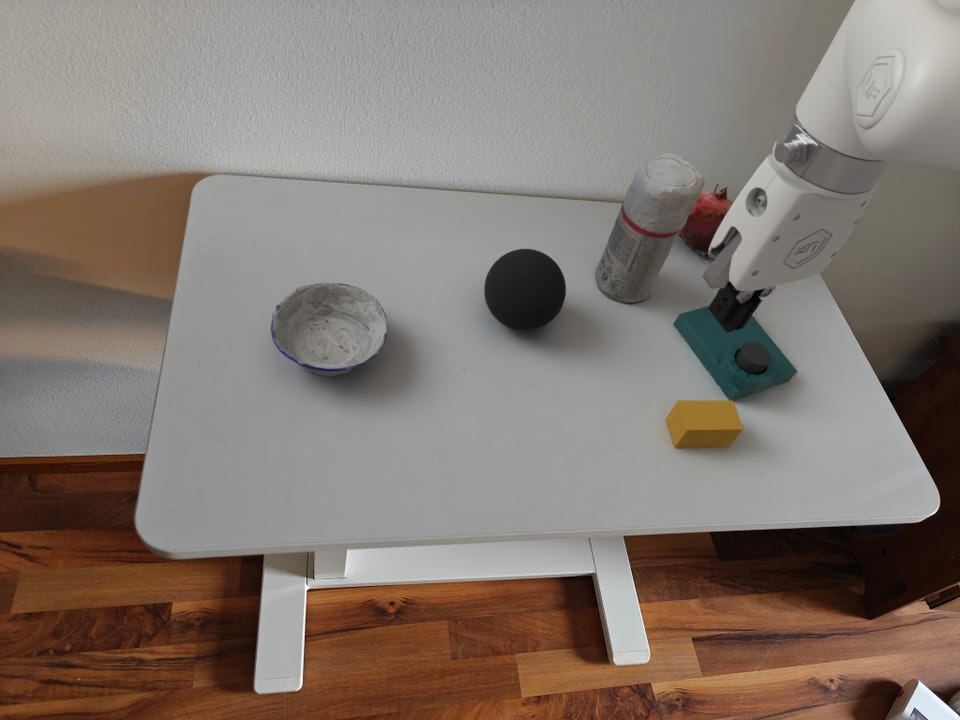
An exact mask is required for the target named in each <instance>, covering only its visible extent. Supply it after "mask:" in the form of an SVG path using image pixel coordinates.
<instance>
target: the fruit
mask: <svg viewBox="0 0 960 720" xmlns="http://www.w3.org/2000/svg"><path fill="white" fill-rule="evenodd" d="M718 186H719V183H717V184H716V185H715V187H714V189H713V191H701V193H700V195H699V197H698V200H697V202H696V204H695V206H694V207H693V208H692V209H691V211H690V213H689V215H688V218H687V222H686V224H685V225H684V227H683V228H682V229H681V230H680V233H679V235H678V237H679V238H680V239H681V240H682V241H684V242H685V243H686V244H687V245H688V246H689V247H691V248H692V249H694V250H696V251H697V252H698V253H699V254H700V255H701V256H702V257H703V258H704V259H706V258H707V256H708V251H709V247H710V244H711V242H712V240H713V237H714V235H715V233H716V231H717V230H718V228H719V226H720V224H721V223H722V221H723V219H724V217H725V216H726V214H727V212H728V211H729V209H730V208H731V206H732V204H733V203H734V201H732V200H731V199H730V198H728V188H729V187H728V186H726V187H724V188H721V189H720V190H718V191H717V189H718Z"/></svg>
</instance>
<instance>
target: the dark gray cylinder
mask: <svg viewBox="0 0 960 720" xmlns="http://www.w3.org/2000/svg"><path fill="white" fill-rule="evenodd" d="M770 360H771V355H770V352H769V351H768V349H767V348H766V347H764V346H763V345H761V344H759V343H757V342H748V343H746V344H744V345H743V347H742V348H741V350H740V351H739V352H738V354H737V355H736V363H737V365H738V366H739V368H740V369H742V370H743V371H745V372H747V373H748V374H753V375H757V374H760V373H761V372H762V371H763V370H764V369H765V367H766V366H767V365H768V363H769V362H770Z"/></svg>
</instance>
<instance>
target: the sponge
mask: <svg viewBox="0 0 960 720" xmlns="http://www.w3.org/2000/svg"><path fill="white" fill-rule="evenodd" d="M665 422H666V425H667V428H668V432H669V436H670V439H671V442H672V445H673V448H674V449H676V448H677V449H679V448H680V449H682V448H685V449H686V448H688V449H689V448H690V449H691V448H729V447H730V446H731V445H732V444H733V443H734V442H735V440H737V439H738V437H739V436H740V434H742V432H743V431H744V430H745V429H744V426H743V423H742V420H741V417H740V415H739V412H738V410H737V407H736V405H735V402H734V400H729V399H728V400H727V399H726V400H723V399H721V400H701V399H700V400H699V399H698V400H688V399H687V400H686V399H685V400H683V399H681V400H677V401H676V402H675V404H674V405H673V406H672V408H671V410H670V412H669V413H668V414H667V416H666V418H665Z"/></svg>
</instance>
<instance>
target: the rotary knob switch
mask: <svg viewBox="0 0 960 720" xmlns="http://www.w3.org/2000/svg"><path fill="white" fill-rule="evenodd" d="M709 306H710V305H707V306H702V307H700V308H696V309H693V310H689V311H685V312H682V313H679V314H678V316H677V318H676V319H675V321H674V323H673V326H674V327H675V329H676V330H677V331H678V333H679V334H680V336H681V337H682V338H683V339H684V341H685V342H686V344H687V345H688V346H689V348H690V349H691V350H692V352H693V353H694V354H695V356H696V357H697V358H698V360H699V361H700V363H701V364H702V365H703V366H704V368H705V370H706V371H707V372H708V374H710V376H711V377H712V379H713V380H714V382H715V383H716V385H717V386H718V387H719V388H720V390H721V391H722V393H723V394H724V395H725V396H726V398H727V399H728V400H733V401H735V400H738V399H741V398H744V397H747V396H750V395H753V394H755V393H759V392H761V391H764V390H768V389H771V388H773V387H775V386H779V385H782V384H784V383H785V384H786V383H788V382H790V381H791V380H792V379H793V378H794V376H795V375H796V374H797V373H798V370H797V368H796V367H795V366H794V365H793V364H792V362H791V361H790V360H789V359H788V357H787V356H786V355H785V354H784V352H783V351H782V350H781V349H780V347H778V345H777V344H776V343H775V341H774V340H773V339H772V338H771V337H770V335H769V334H768V333H767V332H766V331H765V329H764V328H763V327H762V326H761V324H760V323H759V322H758V320H756V318H755V317H754V316H753V315H752V316H751V318H750V319H749V320H748V322H747V323H746V325H745V326H744V328H743V329H740V330H734V331H732V332H729V333H727V332H726V331H725V330H724V329H723V327H722V326H721V325H720V324H719V322H718V321H717V320H716V318H715V317H714V316H713V315H712V313H711V312H710V310H709ZM748 342H757V343H759V344H761V345H763V346H764V347H766V348H767V349H768V351H769V352H770V355H771V360H770V362H769V363H768V365H767V366H766V367H765V369H764V370H763V371H762V372H761V373H760V374H757V375H753V374H748V373H747V372H745V371H743V370H742V369H740V368H739V366H738V365H737V363H736V355H737V354H738V352H739V351H740V350H741V348H742V347H743V345H744V344H746V343H748Z"/></svg>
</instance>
